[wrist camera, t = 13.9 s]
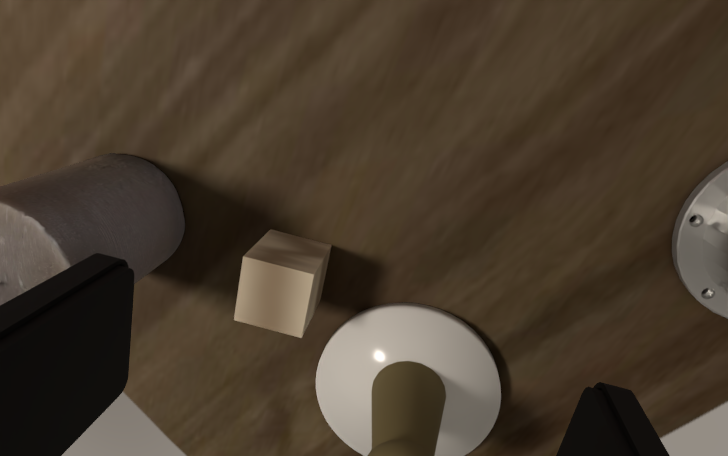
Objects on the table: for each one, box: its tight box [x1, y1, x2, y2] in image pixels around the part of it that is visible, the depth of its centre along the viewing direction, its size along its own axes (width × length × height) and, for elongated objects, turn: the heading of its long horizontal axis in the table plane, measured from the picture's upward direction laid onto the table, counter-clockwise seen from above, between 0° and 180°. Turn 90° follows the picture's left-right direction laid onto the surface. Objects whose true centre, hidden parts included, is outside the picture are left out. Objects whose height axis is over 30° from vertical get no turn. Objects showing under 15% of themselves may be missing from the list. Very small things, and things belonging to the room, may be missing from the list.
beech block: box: [234, 229, 332, 338], centre depth 38 cm, size 5×5×6 cm
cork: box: [368, 361, 446, 456], centre depth 37 cm, size 6×6×11 cm
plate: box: [316, 302, 501, 456], centre depth 42 cm, size 15×15×1 cm
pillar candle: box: [0, 153, 185, 305], centre depth 35 cm, size 10×10×15 cm
